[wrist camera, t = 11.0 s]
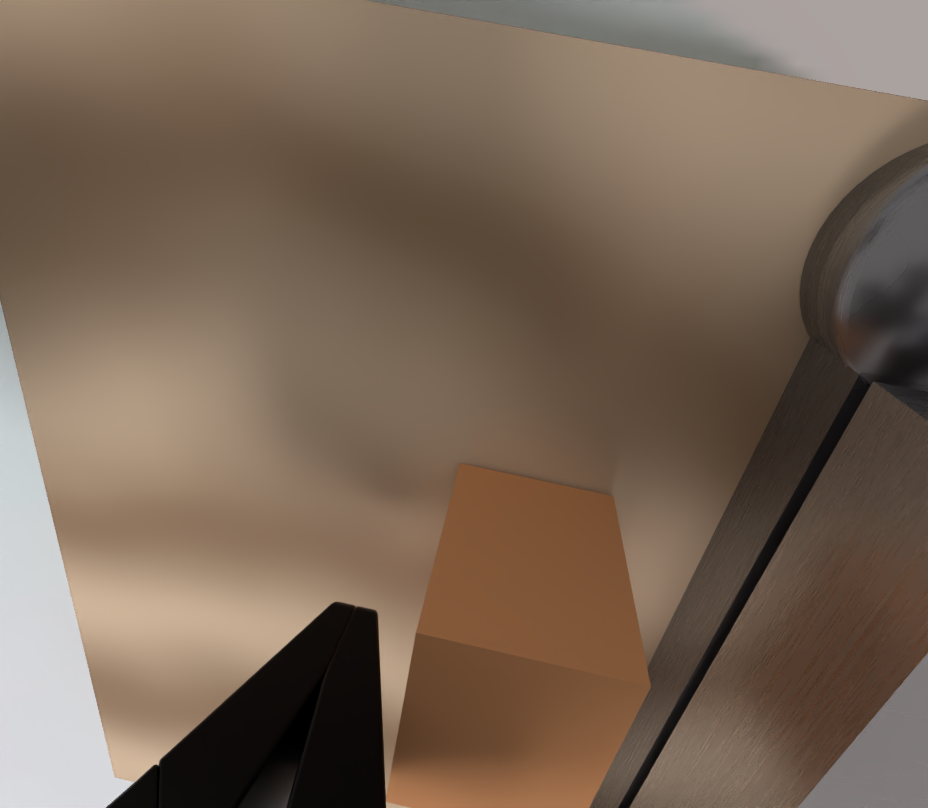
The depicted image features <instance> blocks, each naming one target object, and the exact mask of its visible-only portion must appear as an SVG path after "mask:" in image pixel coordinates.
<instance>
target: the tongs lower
mask: <svg viewBox="0 0 928 808" xmlns="http://www.w3.org/2000/svg"><path fill="white" fill-rule="evenodd" d="M799 297H800V310H801V315H802V320H803V323H804V325H805V328H806V331H807V333H808V335H809V337H810V339H809V341H808V343H807V345H806V347H805V349H804V351H803V353H802V355H801V357H800V359H799V361H798V363H797V365H796V368H795V370H794V372H793V374H792V376H791V378H790V380H789V382H788V384H787V386H786V388H785V390H784V392H783V394H782V396H781V398H780V400H779V402H778V404H777V406H776V408H775V410H774V412H773V414H772V416H771V418H770V420H769V422H768V424H767V426H766V428H765V430H764V432H763V434H762V436H761V438H760V440H759V442H758V445H757V447H756V449H755V451H754V453H753V455H752V457H751V459H750V461H749V463H748V465H747V467H746V469H745V471H744V473H743V475H742V477H741V479H740V481H739V483H738V485H737V487H736V489H735V491H734V493H733V495H732V497H731V499H730V501H729V503H728V505H727V507H726V509H725V511H724V513H723V515H722V517H721V519H720V522H719V524H718V526H717V528H716V530H715V532H714V534H713V536H712V538H711V540H710V542H709V544H708V546H707V548H706V550H705V552H704V554H703V556H702V558H701V560H700V562H699V564H698V566H697V568H696V570H695V572H694V574H693V576H692V578H691V580H690V582H689V584H688V586H687V588H686V590H685V592H684V594H683V596H682V599H681V601H680V603H679V605H678V607H677V609H676V611H675V613H674V615H673V617H672V619H671V621H670V623H669V625H668V627H667V629H666V631H665V633H664V635H663V637H662V639H661V641H660V643H659V645H658V647H657V649H656V651H655V653H654V655H653V657H652V659H651V661H650V663H649V665H648V667H647V669H648V674H649V679H650V684H651V688H650V690H649V692H648V694H647V696H646V698H645V699H644V701H643V703H642V705H641V707H640V709H639V711H638V713H637V715H636V717H635V719H634V721H633V723H632V725H631V727H630V729H629V731H628V733H627V735H626V737H625V739H624V741H623V743H622V744H621V746H620V748H619V750H618V752H617V754H616V756H615V758H614V760H613V762H612V764H611V766H610V768H609V770H608V772H607V774H606V776H605V778H604V780H603V782H602V784H601V786H600V788H599V789H598V791H597V793H596V795H595V797H594V799H593V801H592V803H591V805H590V807H589V808H629V807H630V806H631V804H632V802H633V800H634V799H635V797H636V795H637V793H638V792H639V790H640V788H641V786H642V785H643V783H644V781H645V779H646V778H647V776H648V774H649V772H650V771H651V769H652V767H653V766H654V764H655V762H656V760H657V759H658V757H659V755H660V753H661V752H662V750H663V748H664V746H665V745H666V743H667V741H668V739H669V738H670V736H671V734H672V732H673V731H674V729H675V727H676V725H677V724H678V722H679V720H680V718H681V717H682V715H683V713H684V711H685V710H686V708H687V706H688V704H689V703H690V701H691V699H692V697H693V696H694V694H695V692H696V690H697V689H698V687H699V685H700V683H701V682H702V680H703V678H704V676H705V675H706V673H707V671H708V669H709V668H710V666H711V664H712V662H713V661H714V659H715V657H716V655H717V654H718V652H719V650H720V648H721V647H722V645H723V643H724V641H725V640H726V638H727V636H728V634H729V633H730V631H731V629H732V627H733V626H734V624H735V622H736V620H737V619H738V617H739V615H740V613H741V612H742V610H743V608H744V606H745V605H746V603H747V601H748V599H749V598H750V596H751V594H752V592H753V591H754V589H755V587H756V585H757V584H758V582H759V580H760V578H761V577H762V575H763V573H764V571H765V570H766V568H767V566H768V564H769V563H770V561H771V559H772V557H773V556H774V554H775V552H776V550H777V549H778V547H779V545H780V543H781V542H782V540H783V538H784V536H785V535H786V533H787V531H788V529H789V528H790V526H791V524H792V522H793V521H794V519H795V517H796V515H797V514H798V512H799V510H800V508H801V507H802V505H803V503H804V501H805V500H806V498H807V496H808V494H809V493H810V491H811V489H812V487H813V486H814V484H815V482H816V480H817V479H818V477H819V475H820V473H821V472H822V470H823V468H824V466H825V465H826V463H827V461H828V459H829V458H830V456H831V454H832V452H833V451H834V449H835V447H836V445H837V444H838V442H839V440H840V438H841V437H842V435H843V433H844V431H845V430H846V428H847V426H848V424H849V423H850V421H851V419H852V418H853V416H854V414H855V412H856V411H857V409H858V407H859V405H860V404H861V402H862V400H863V398H864V397H865V395H866V393H867V391H868V390H869V388H870V386H871V384H872V383H873V381H875V382H880V383H885V384H890V385H895V386H900V387H905V388H910V389H915V390H920V391H925V392H928V143H927V144H925V145H922V146H920V147H917V148H915V149H912V150H910V151H908V152H906V153H904V154H902V155H900V156H898V157H896V158H895V159H893V160H891V161H889V162H888V163H886V164H885V165H883V166H882V167H880V168H879V169H877V170H876V171H874V172H873V173H872V174H870V175H869V176H868V177H867V178H865V179H864V180H863V181H861V182H860V183H859V184H858V185H857V186H856V187H855V188H854V189H853V190H852V191H850V192H849V193H848V194H847V195H846V196H845V197H844V198H843V199H842V201H841V202H840V203H839V204H838V205H837V206H836V208H835V209H834V210H833V211H832V212H831V214H830V215H829V216H828V218H827V219H826V221H825V222H824V224H823V225H822V227H821V228H820V230H819V231H818V233H817V235H816V237H815V239H814V241H813V243H812V245H811V247H810V250H809V252H808V255H807V257H806V260H805V263H804V267H803V271H802V275H801V281H800V291H799Z"/></svg>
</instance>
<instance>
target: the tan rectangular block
mask: <svg viewBox="0 0 928 808" xmlns="http://www.w3.org/2000/svg"><path fill="white" fill-rule="evenodd" d="M650 688H651V684H650V679H649V674H648V669H647V664H646V659H645V654H644V649H643V644H642V639H641V633H640V628H639V623H638V618H637V613H636V608H635V603H634V598H633V593H632V588H631V583H630V578H629V572H628V567H627V562H626V557H625V552H624V547H623V542H622V537H621V532H620V527H619V522H618V517H617V511H616V506H615V501H614V496H610V495H606V494H601V493H596V492H592V491H587V490H582V489H578V488H573V487H568V486H564V485H559V484H555V483H550V482H545V481H541V480H536V479H531V478H527V477H522V476H518V475H513V474H508V473H504V472H499V471H494V470H490V469H485V468H480V467H476V466H471V465H467V464H462V463H460V464H459V468H458V472H457V476H456V480H455V483H454V487H453V491H452V495H451V499H450V503H449V507H448V510H447V514H446V518H445V522H444V526H443V530H442V534H441V538H440V541H439V545H438V549H437V553H436V557H435V561H434V565H433V568H432V572H431V576H430V580H429V584H428V588H427V592H426V596H425V599H424V603H423V607H422V611H421V615H420V619H419V623H418V626H417V630H416V635H415V640H414V646H413V651H412V657H411V662H410V668H409V673H408V679H407V684H406V690H405V695H404V701H403V707H402V712H401V718H400V723H399V729H398V734H397V740H396V745H395V751H394V756H393V762H392V767H391V773H390V778H389V784H388V789H387V795H386V802H389V803H393V804H397V805H401V806H405V807H409V808H589V807H590V805H591V803H592V801H593V799H594V797H595V795H596V793H597V791H598V789H599V788H600V786H601V784H602V782H603V780H604V778H605V776H606V774H607V772H608V770H609V768H610V766H611V764H612V762H613V760H614V758H615V756H616V754H617V752H618V750H619V748H620V746H621V744H622V743H623V741H624V739H625V737H626V735H627V733H628V731H629V729H630V727H631V725H632V723H633V721H634V719H635V717H636V715H637V713H638V711H639V709H640V707H641V705H642V703H643V701H644V699H645V698H646V696H647V694H648V692H649V690H650Z"/></svg>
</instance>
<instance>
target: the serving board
mask: <svg viewBox="0 0 928 808" xmlns="http://www.w3.org/2000/svg"><path fill="white" fill-rule="evenodd" d="M927 143H928V101H926V100H921V99H915V98H910V97H904V96H898V95H893V94H887V93H882V92H876V91H871V90H865V89H860V88H854V87H848V86H843V85H837V84H831V83H826V82H820V81H815V80H809V79H804V78H798V77H793V76H787V75H781V74H776V73H770V72H765V71H759V70H753V69H748V68H742V67H737V66H731V65H726V64H720V63H714V62H709V61H703V60H698V59H692V58H686V57H681V56H675V55H670V54H664V53H659V52H653V51H647V50H642V49H636V48H631V47H625V46H619V45H614V44H608V43H603V42H597V41H592V40H586V39H580V38H575V37H569V36H564V35H558V34H552V33H547V32H541V31H536V30H530V29H525V28H519V27H513V26H508V25H502V24H497V23H491V22H485V21H480V20H474V19H469V18H463V17H458V16H452V15H446V14H441V13H435V12H430V11H424V10H418V9H413V8H407V7H402V6H396V5H391V4H385V3H379V2H374V1H368V0H0V301H1V305H2V309H3V313H4V317H5V321H6V326H7V330H8V334H9V338H10V342H11V346H12V351H13V355H14V359H15V363H16V367H17V371H18V376H19V380H20V384H21V388H22V392H23V396H24V401H25V405H26V409H27V413H28V417H29V422H30V426H31V430H32V434H33V438H34V442H35V447H36V451H37V455H38V459H39V463H40V467H41V472H42V476H43V480H44V484H45V488H46V492H47V497H48V501H49V505H50V509H51V513H52V517H53V522H54V526H55V530H56V534H57V538H58V543H59V547H60V551H61V555H62V559H63V563H64V568H65V572H66V576H67V580H68V584H69V588H70V593H71V597H72V601H73V605H74V609H75V613H76V618H77V622H78V626H79V630H80V634H81V638H82V643H83V647H84V651H85V655H86V659H87V664H88V668H89V672H90V676H91V680H92V684H93V689H94V693H95V697H96V701H97V705H98V709H99V714H100V718H101V722H102V726H103V730H104V734H105V739H106V743H107V747H108V751H109V755H110V759H111V764H112V768H113V772H114V776H115V777H116V778H120V779H124V780H128V781H132V782H136V781H137V780H138V779H139V778H140V777H141V776H142V775H143V774H144V773H145V772H146V771H148V770H149V769H150V768H151V767H152V766H153V765H155V764H157V765H158V766H159V761H160V759H161V758H162V757H163V756H164V755H166V754H167V753H168V752H169V751H170V750H171V749H172V748H173V747H174V746H175V745H177V744H178V743H179V742H180V741H181V740H182V739H183V738H184V737H185V736H186V735H188V734H189V733H190V732H191V731H192V730H193V729H194V728H195V727H196V726H197V725H198V724H200V723H201V722H202V721H203V720H204V719H205V718H206V717H207V716H208V715H209V714H211V713H212V712H213V711H214V710H215V709H216V708H217V707H218V706H219V705H220V704H222V703H223V702H224V701H225V700H226V699H227V698H228V697H229V696H230V695H231V694H233V693H234V692H235V691H236V690H237V689H238V688H239V687H240V686H241V685H242V684H244V683H245V682H246V681H247V680H248V679H249V678H250V677H251V676H252V675H253V674H255V673H256V672H257V671H258V670H259V669H260V668H261V667H262V666H263V665H264V664H266V663H267V662H268V661H269V660H270V659H271V658H272V657H273V656H274V655H275V654H277V653H278V652H279V651H280V650H281V649H282V648H283V647H284V646H285V645H286V644H288V643H289V642H290V641H291V640H292V639H293V638H294V637H295V636H296V635H297V634H299V633H300V632H301V631H302V630H303V629H304V628H305V627H306V626H307V625H308V624H309V623H311V622H312V621H313V620H314V619H315V618H316V617H317V616H318V615H319V614H320V613H322V612H323V611H324V610H325V609H326V608H327V607H328V606H329V605H330V604H332V603H333V602H343V603H347V604H352V605H354V606H356V607H357V606H360V607H365V608H369V609H374V610H376V611H377V613H378V625H379V648H380V672H381V695H382V718H383V741H384V764H385V787H386V795H387V789H388V784H389V778H390V773H391V767H392V762H393V756H394V751H395V745H396V740H397V734H398V729H399V723H400V718H401V712H402V707H403V701H404V695H405V690H406V684H407V679H408V673H409V668H410V662H411V657H412V651H413V646H414V640H415V635H416V630H417V626H418V623H419V619H420V615H421V611H422V607H423V603H424V599H425V596H426V592H427V588H428V584H429V580H430V576H431V572H432V568H433V565H434V561H435V557H436V553H437V549H438V545H439V541H440V538H441V534H442V530H443V526H444V522H445V518H446V514H447V510H448V507H449V503H450V499H451V495H452V491H453V487H454V483H455V480H456V476H457V472H458V468H459V464H460V463H462V464H467V465H471V466H476V467H480V468H485V469H490V470H494V471H499V472H504V473H508V474H513V475H518V476H522V477H527V478H531V479H536V480H541V481H545V482H550V483H555V484H559V485H564V486H568V487H573V488H578V489H582V490H587V491H592V492H596V493H601V494H606V495H610V496H614V501H615V506H616V511H617V517H618V522H619V527H620V532H621V537H622V542H623V547H624V552H625V557H626V562H627V567H628V572H629V578H630V583H631V588H632V593H633V598H634V603H635V608H636V613H637V618H638V623H639V628H640V633H641V639H642V644H643V649H644V654H645V659H646V664H647V667H648V665H649V663H650V661H651V659H652V657H653V655H654V653H655V651H656V649H657V647H658V645H659V643H660V641H661V639H662V637H663V635H664V633H665V631H666V629H667V627H668V625H669V623H670V621H671V619H672V617H673V615H674V613H675V611H676V609H677V607H678V605H679V603H680V601H681V599H682V596H683V594H684V592H685V590H686V588H687V586H688V584H689V582H690V580H691V578H692V576H693V574H694V572H695V570H696V568H697V566H698V564H699V562H700V560H701V558H702V556H703V554H704V552H705V550H706V548H707V546H708V544H709V542H710V540H711V538H712V536H713V534H714V532H715V530H716V528H717V526H718V524H719V522H720V519H721V517H722V515H723V513H724V511H725V509H726V507H727V505H728V503H729V501H730V499H731V497H732V495H733V493H734V491H735V489H736V487H737V485H738V483H739V481H740V479H741V477H742V475H743V473H744V471H745V469H746V467H747V465H748V463H749V461H750V459H751V457H752V455H753V453H754V451H755V449H756V447H757V445H758V442H759V440H760V438H761V436H762V434H763V432H764V430H765V428H766V426H767V424H768V422H769V420H770V418H771V416H772V414H773V412H774V410H775V408H776V406H777V404H778V402H779V400H780V398H781V396H782V394H783V392H784V390H785V388H786V386H787V384H788V382H789V380H790V378H791V376H792V374H793V372H794V370H795V368H796V365H797V363H798V361H799V359H800V357H801V355H802V353H803V351H804V349H805V347H806V345H807V343H808V341H809V339H810V337H809V335H808V333H807V331H806V328H805V325H804V323H803V320H802V315H801V310H800V297H799V291H800V281H801V275H802V271H803V267H804V263H805V260H806V257H807V255H808V252H809V250H810V247H811V245H812V243H813V241H814V239H815V237H816V235H817V233H818V231H819V230H820V228H821V227H822V225H823V224H824V222H825V221H826V219H827V218H828V216H829V215H830V214H831V212H832V211H833V210H834V209H835V208H836V206H837V205H838V204H839V203H840V202H841V201H842V199H843V198H844V197H845V196H846V195H847V194H848V193H849V192H850V191H852V190H853V189H854V188H855V187H856V186H857V185H858V184H859V183H860V182H861V181H863V180H864V179H865V178H867V177H868V176H869V175H870V174H872V173H873V172H874V171H876V170H877V169H879V168H880V167H882V166H883V165H885V164H886V163H888V162H889V161H891V160H893V159H895V158H896V157H898V156H900V155H902V154H904V153H906V152H908V151H910V150H912V149H915V148H917V147H920V146H922V145H925V144H927ZM386 808H409V807H405V806H401V805H397V804H393V803H389V802H386Z"/></svg>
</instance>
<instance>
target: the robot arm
mask: <svg viewBox="0 0 928 808" xmlns="http://www.w3.org/2000/svg"><path fill="white" fill-rule="evenodd" d="M106 808H386V787H385V764H384V741H383V718H382V695H381V672H380V648H379V625H378V613H377V611H376V610H374V609H369V608H365V607H360V606H357V607H356V606H354V605H352V604H347V603H343V602H333V603H332V604H330V605H329V606H328V607H327V608H326V609H325V610H324V611H323V612H322V613H320V614H319V615H318V616H317V617H316V618H315V619H314V620H313V621H312V622H311V623H309V624H308V625H307V626H306V627H305V628H304V629H303V630H302V631H301V632H300V633H299V634H297V635H296V636H295V637H294V638H293V639H292V640H291V641H290V642H289V643H288V644H286V645H285V646H284V647H283V648H282V649H281V650H280V651H279V652H278V653H277V654H275V655H274V656H273V657H272V658H271V659H270V660H269V661H268V662H267V663H266V664H264V665H263V666H262V667H261V668H260V669H259V670H258V671H257V672H256V673H255V674H253V675H252V676H251V677H250V678H249V679H248V680H247V681H246V682H245V683H244V684H242V685H241V686H240V687H239V688H238V689H237V690H236V691H235V692H234V693H233V694H231V695H230V696H229V697H228V698H227V699H226V700H225V701H224V702H223V703H222V704H220V705H219V706H218V707H217V708H216V709H215V710H214V711H213V712H212V713H211V714H209V715H208V716H207V717H206V718H205V719H204V720H203V721H202V722H201V723H200V724H198V725H197V726H196V727H195V728H194V729H193V730H192V731H191V732H190V733H189V734H188V735H186V736H185V737H184V738H183V739H182V740H181V741H180V742H179V743H178V744H177V745H175V746H174V747H173V748H172V749H171V750H170V751H169V752H168V753H167V754H166V755H164V756H163V757H162V758H161V759H160V761H159V766H158V765H157V764H155V765H153V766H152V767H151V768H150V769H149V770H148V771H146V772H145V773H144V774H143V775H142V776H141V777H140V778H139V779H138V780H137V781H136V782H134V783H133V784H132V785H131V786H130V787H129V788H128V789H127V790H126V791H124V792H123V793H122V794H121V795H120V796H119V797H118V798H116V799H115V800H114V801H113V802H112V803H111V804H109V805H108V806H107V807H106Z"/></svg>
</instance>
